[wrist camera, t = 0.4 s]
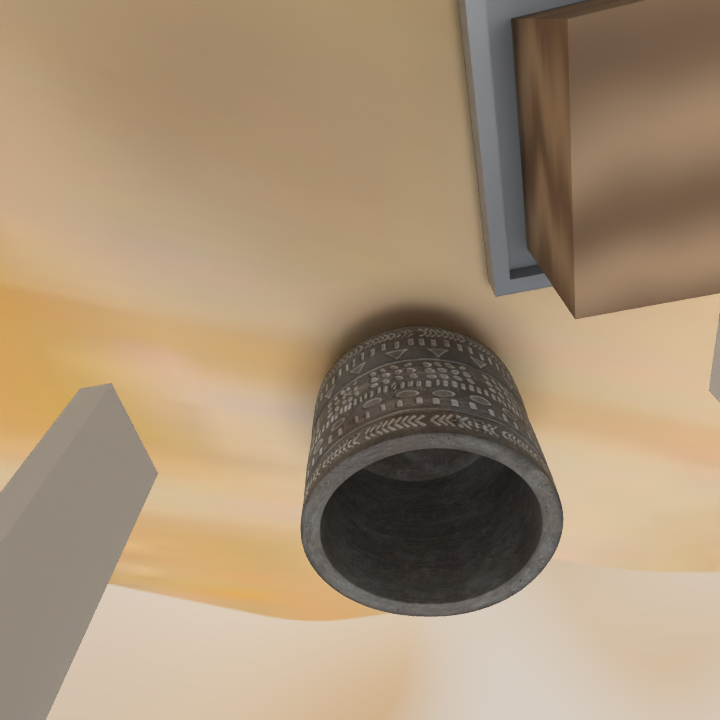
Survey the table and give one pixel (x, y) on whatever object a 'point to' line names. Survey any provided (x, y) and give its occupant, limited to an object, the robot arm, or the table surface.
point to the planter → (426, 478)
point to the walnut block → (621, 149)
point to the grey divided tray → (499, 138)
